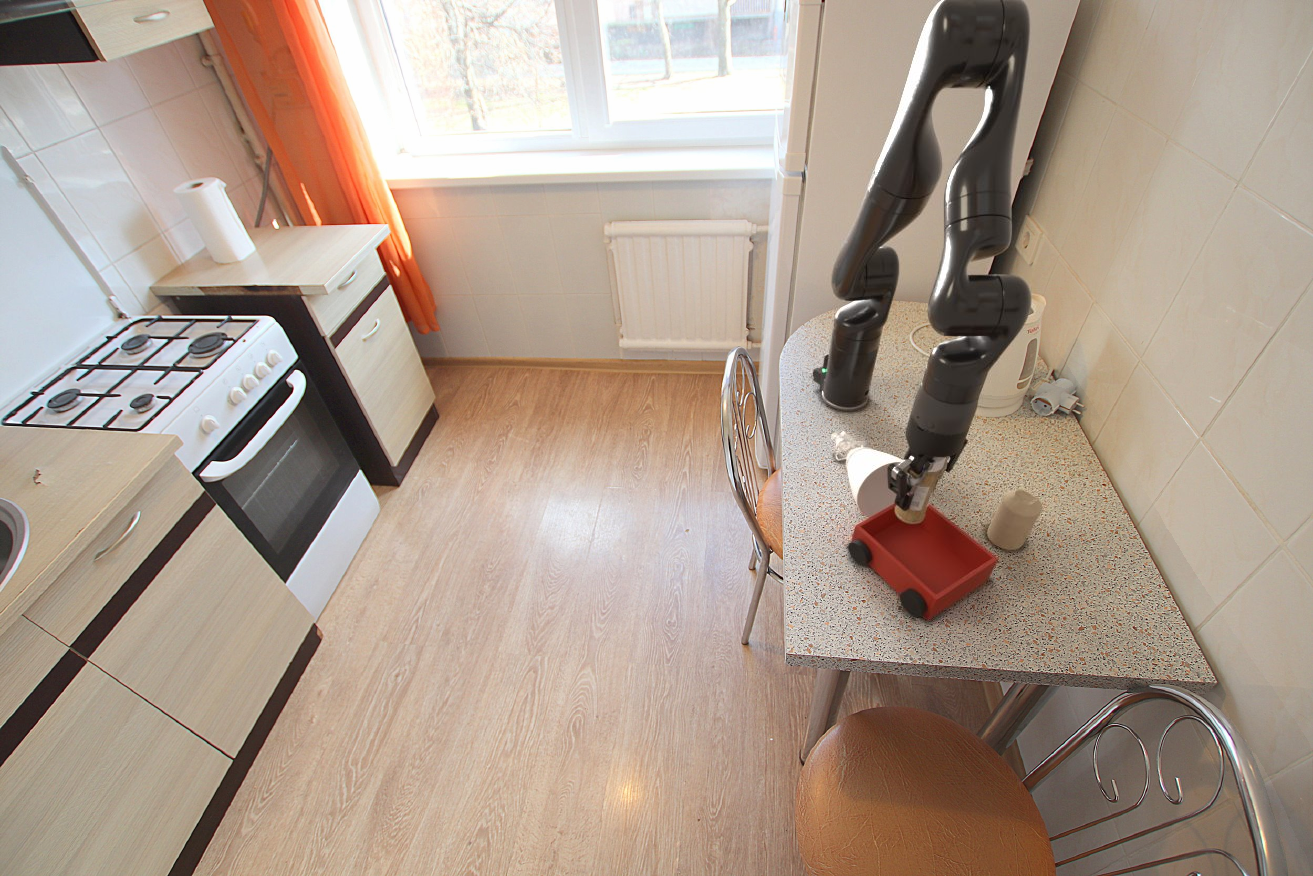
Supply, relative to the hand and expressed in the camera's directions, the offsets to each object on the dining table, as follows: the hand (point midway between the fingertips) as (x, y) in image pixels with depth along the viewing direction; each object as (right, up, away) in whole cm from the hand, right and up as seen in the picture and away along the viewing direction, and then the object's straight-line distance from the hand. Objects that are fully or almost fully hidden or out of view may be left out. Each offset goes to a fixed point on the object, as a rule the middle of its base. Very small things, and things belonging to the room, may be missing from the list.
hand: (913, 499), depth 93 cm
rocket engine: (0, +1, +19) cm, 19 cm away
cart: (+3, -11, +5) cm, 12 cm away
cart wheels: (+3, -11, +5) cm, 12 cm away
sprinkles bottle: (0, -3, +2) cm, 3 cm away
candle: (+18, -7, +8) cm, 21 cm away
